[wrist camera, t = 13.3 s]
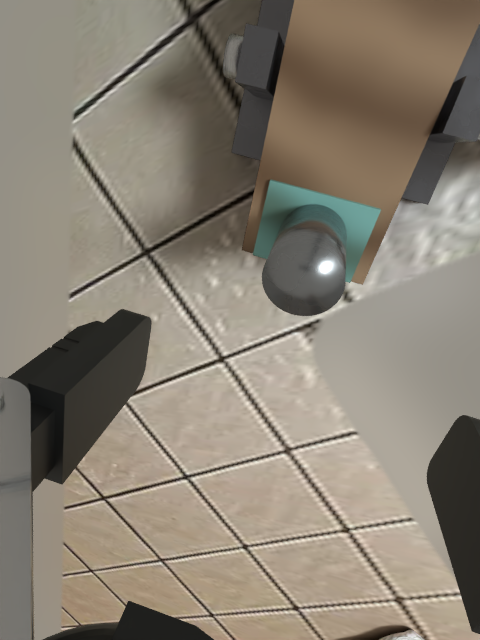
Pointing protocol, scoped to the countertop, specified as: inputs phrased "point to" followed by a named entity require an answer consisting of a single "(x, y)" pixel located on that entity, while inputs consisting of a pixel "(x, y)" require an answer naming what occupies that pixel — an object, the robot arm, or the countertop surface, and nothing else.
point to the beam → (355, 113)
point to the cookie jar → (403, 636)
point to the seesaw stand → (261, 79)
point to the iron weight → (307, 261)
